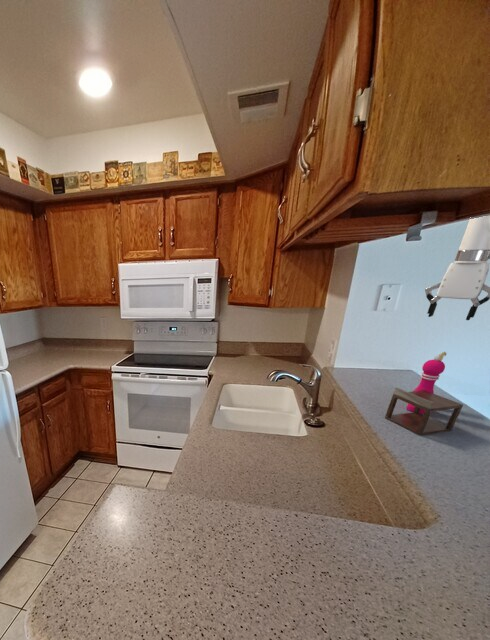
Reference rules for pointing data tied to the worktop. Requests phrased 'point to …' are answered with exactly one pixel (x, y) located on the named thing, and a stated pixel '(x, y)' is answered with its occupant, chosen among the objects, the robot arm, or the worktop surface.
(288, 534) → the worktop surface
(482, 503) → the worktop surface
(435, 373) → the pepper mill
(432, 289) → the robot arm
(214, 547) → the worktop surface
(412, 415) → the shelf
